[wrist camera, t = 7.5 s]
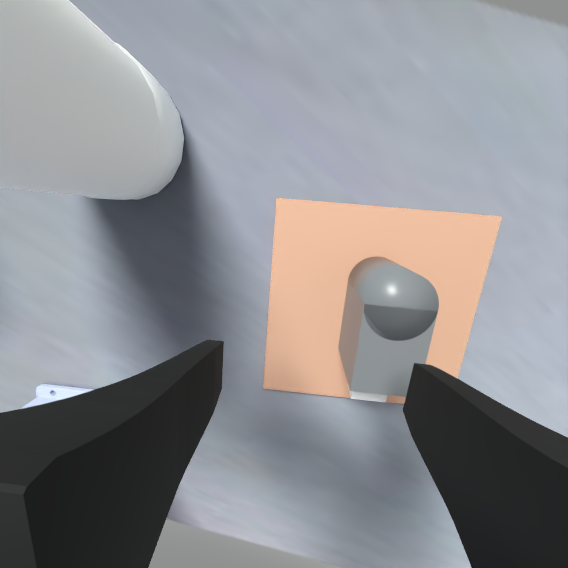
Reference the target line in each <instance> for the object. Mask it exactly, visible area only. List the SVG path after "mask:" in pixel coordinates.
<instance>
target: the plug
mask: <svg viewBox="0 0 568 568" xmlns="http://www.w3.org/2000/svg"><path fill="white" fill-rule="evenodd" d="M438 309H439V298H438V294H437V292H436V289H435V288H434V286H433V285H432V284H431V283H430V282H429V281H428V280H427V279H426V278H424V277H423V276H421V275H419V274H417V273H415V272H413V271H411V270H409V269H407V268H405V267H403V266H401V265H399V264H397V263H395V262H393V261H391V260H389V259H387V258H384V257H377V256H375V257H369V258H366V259H364V260H362V261H360V262H359V263H358V264H356V265H355V267H354V268H353V269H352V271H351V272H350V275H349V278H348V283H347V290H346V297H345V304H344V310H343V317H342V324H341V331H340V338H339V345H338V349H339V353H340V356H341V360H342V363H343V367H344V371H345V374H346V378H347V381H348V384H347V386H348V390H349V393H350V397H351V399H358V400H368V401H377V402H386V399H387V395H391V396H401V397H406V395H407V390H408V386H409V382H410V378H411V374H412V369H413V365H414V363H419V364H426V360H427V355H428V351H429V347H430V343H431V339H432V334H433V330H434V326H435V322H436V318H437V314H438Z"/></svg>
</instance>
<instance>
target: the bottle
mask: <svg viewBox="0 0 568 568" xmlns="http://www.w3.org/2000/svg"><path fill="white" fill-rule="evenodd" d="M183 144H184V135H183V130H182V124H181V119H180V114H179V113H178V111H177V109H176V107H175V105H174V103H173V101H172V99H171V98H170V96H169V94H168V92H167V91H166V90H165V89H164V88H163V87H162V86H161V85H160V84H159V83H158V81H157V80H156V79H155V78H154V77H153V76H152V75H151V74H150V73H149V72H148V71H147V70H146V69H145V68H144V67H143V66H142V65H141V64H140V63H139V62H138V61H137V60H136V59H135V58H134V57H133V56H132V55H131V54H129V53H128V52H127V51H126V50H125V49H124V48H123V47H121V46H120V45H119V44H117V43H115V42H113V41H112V40H111V39H110V38H109V37H108V36H107V35H106V34H105V33H104V32H102V31H101V30H100V29H99V28H98V27H97V26H96V25H95V24H94V23H93V22H92V21H91V20H89V19H88V18H87V17H86V16H85V15H84V14H83V13H82V12H81V11H80V10H79V9H78V8H76V7H75V6H74V5H73V4H72V3H71V2H70V1H69V0H0V188H5V189H16V190H27V191H39V192H50V193H62V194H73V195H83V196H85V197H89V198H98V199H116V200H128V199H137V200H140V199H143V198H145V197H148V196H151V195H154V194H157V193H158V192H159V191H161V190H162V189H163V188H164V187H165V186H166V185H167V184H168V183H169V182H171V181H172V179H173V177H174V175H175V173H176V171H177V169H178V167H179V165H180V163H181V161H182V153H183Z"/></svg>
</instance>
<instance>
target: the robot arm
mask: <svg viewBox="0 0 568 568" xmlns="http://www.w3.org/2000/svg"><path fill="white" fill-rule="evenodd" d="M223 343H224V342H223V341H214V340H206V341H204V342H202V343H200V344H198V345H196V346H194V347H192V348H190V349H189V350H187V351H185V352H183V353H181V354H179V355H177V356H175V357H173V358H172V359H170V360H168V361H165V362H163V363H161V364H159V365H157V366H155V367H153V368H151V369H149V370H146V371H144V372H142V373H140V374H137V375H135V376H132V377H130V378H127V379H125V380H122V381H119V382H117V383H114V384H111V385H108V386H105V387H102V388H99V389H95V390H94V389H85V388H76V387H67V386H58V385H49V384H41V385H40V386H38V387H37V388H36V395H37V398H35V399H34V400H32V401H31V402H29V403H28V404H27V405H25V406H24V407H22V408H21V409H18V410H13V411H8V412H3V413H0V568H148V567H149V564H150V561H151V558H152V556H153V553H154V550H155V547H156V545H157V542H158V539H159V536H160V534H161V531H162V528H163V525H164V523H165V520H166V517H167V515H168V512H169V510H170V507H171V504H172V502H173V499H174V496H175V494H176V491H177V489H178V486H179V484H180V481H181V479H182V477H183V475H184V472H185V470H186V468H187V466H188V464H189V462H190V460H191V458H192V456H193V454H194V452H195V450H196V448H197V446H198V444H199V442H200V439H201V437H202V435H203V433H204V431H205V429H206V427H207V425H208V423H209V421H210V419H211V417H212V415H213V412H214V410H215V407H216V404H217V401H218V398H219V395H220V392H221V389H222V366H223ZM403 412H404V415H405V418H406V421H407V424H408V427H409V430H410V432H411V435H412V438H413V440H414V442H415V444H416V446H417V448H418V450H419V452H420V454H421V456H422V458H423V460H424V462H425V464H426V466H427V468H428V470H429V472H430V474H431V476H432V478H433V480H434V482H435V484H436V486H437V488H438V490H439V492H440V494H441V496H442V498H443V500H444V502H445V504H446V506H447V508H448V510H449V513H450V515H451V517H452V519H453V521H454V524H455V526H456V529H457V531H458V534H459V536H460V539H461V541H462V544H463V546H464V549H465V551H466V554H467V556H468V559H469V561H470V564H471V567H472V568H568V438H567V437H565V436H563V435H561V434H559V433H557V432H555V431H553V430H550V429H548V428H546V427H544V426H542V425H540V424H538V423H536V422H534V421H532V420H530V419H528V418H526V417H525V416H523V415H521V414H519V413H517V412H515V411H513V410H512V409H510V408H508V407H506V406H504V405H502V404H501V403H499V402H497V401H495V400H493V399H492V398H490V397H488V396H486V395H485V394H483V393H481V392H479V391H478V390H476V389H474V388H473V387H471V386H469V385H467V384H466V383H464V382H462V381H461V380H459V379H457V378H455V377H454V376H452V375H450V374H448V373H446V372H445V371H443V370H441V369H439V368H437V367H435V366H432V365H428V364H419V363H414V365H413V369H412V374H411V378H410V382H409V386H408V390H407V395H406V399H405V403H404V407H403Z"/></svg>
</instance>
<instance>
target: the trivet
mask: <svg viewBox="0 0 568 568" xmlns="http://www.w3.org/2000/svg"><path fill="white" fill-rule="evenodd" d="M501 218H502V216H490V215H478V214H465V213H453V212H441V211H429V210H417V209H405V208H393V207H380V206H368V205H356V204H344V203H332V202H320V201H308V200H295V199H283V198H277V201H276V215H275V229H274V243H273V257H272V271H271V285H270V299H269V313H268V327H267V341H266V355H265V369H264V383H263V389H272V390H281V391H290V392H299V393H308V394H317V395H327V396H336V397H345V398H351V397H350V393H349V390H348V386H347V384H348V381H347V378H346V374H345V371H344V367H343V363H342V360H341V356H340V353H339V349H338V345H339V338H340V331H341V324H342V317H343V310H344V304H345V297H346V290H347V283H348V278H349V275H350V272H351V271H352V269H353V268H354V267H355V265H356V264H358V263H359V262H360V261H362V260H364V259H366V258H369V257H375V256H377V257H384V258H387V259H389V260H391V261H393V262H395V263H397V264H399V265H401V266H403V267H405V268H407V269H409V270H411V271H413V272H415V273H417V274H419V275H421V276H423V277H424V278H426V279H427V280H428V281H429V282H430V283H431V284H432V285H433V286H434V288H435V289H436V292H437V294H438V298H439V309H438V314H437V318H436V322H435V326H434V330H433V334H432V339H431V343H430V347H429V351H428V355H427V360H426V364H428V365H432V366H435V367H437V368H439V369H441V370H443V371H445V372H446V373H448V374H450V375H452V376H454V377H455V378H458V374H459V371H460V367H461V363H462V360H463V356H464V353H465V349H466V345H467V342H468V338H469V334H470V331H471V327H472V324H473V320H474V316H475V313H476V309H477V305H478V302H479V298H480V295H481V291H482V287H483V284H484V280H485V276H486V273H487V269H488V266H489V262H490V258H491V255H492V251H493V247H494V244H495V240H496V237H497V233H498V229H499V226H500V222H501ZM405 399H406V397H401V396H391V395H387V399H386V402H390V403H399V404H404V403H405Z"/></svg>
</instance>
